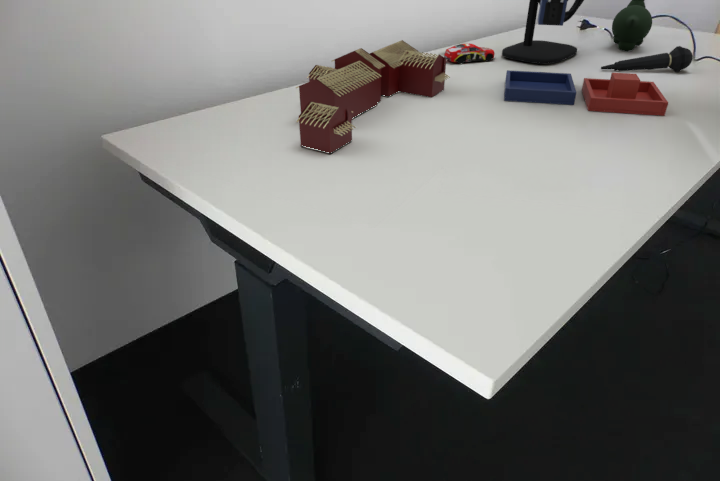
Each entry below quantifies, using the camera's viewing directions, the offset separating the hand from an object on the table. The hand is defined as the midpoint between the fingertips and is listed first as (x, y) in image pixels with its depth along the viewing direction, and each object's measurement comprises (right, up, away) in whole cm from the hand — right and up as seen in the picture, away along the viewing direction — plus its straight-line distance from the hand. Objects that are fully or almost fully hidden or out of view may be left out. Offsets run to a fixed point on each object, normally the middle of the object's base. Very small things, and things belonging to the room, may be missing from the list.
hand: (550, 20), depth 106 cm
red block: (+15, -15, +2) cm, 21 cm away
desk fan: (+10, +5, +34) cm, 36 cm away
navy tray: (0, -12, +8) cm, 14 cm away
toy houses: (-37, -17, +1) cm, 41 cm away
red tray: (+15, -15, +2) cm, 22 cm away
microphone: (+30, -3, +22) cm, 37 cm away
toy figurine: (+36, +10, +42) cm, 56 cm away
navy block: (0, 0, 0) cm, 0 cm away
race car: (-10, +2, +31) cm, 33 cm away
